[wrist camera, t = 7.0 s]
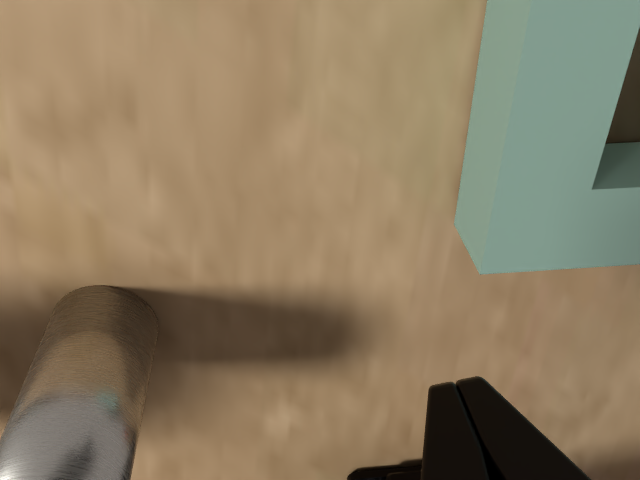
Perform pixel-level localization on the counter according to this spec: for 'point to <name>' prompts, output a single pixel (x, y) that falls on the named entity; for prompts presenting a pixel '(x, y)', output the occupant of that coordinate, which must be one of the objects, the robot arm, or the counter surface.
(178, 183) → the counter surface
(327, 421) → the counter surface
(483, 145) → the socket block
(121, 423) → the dowel
